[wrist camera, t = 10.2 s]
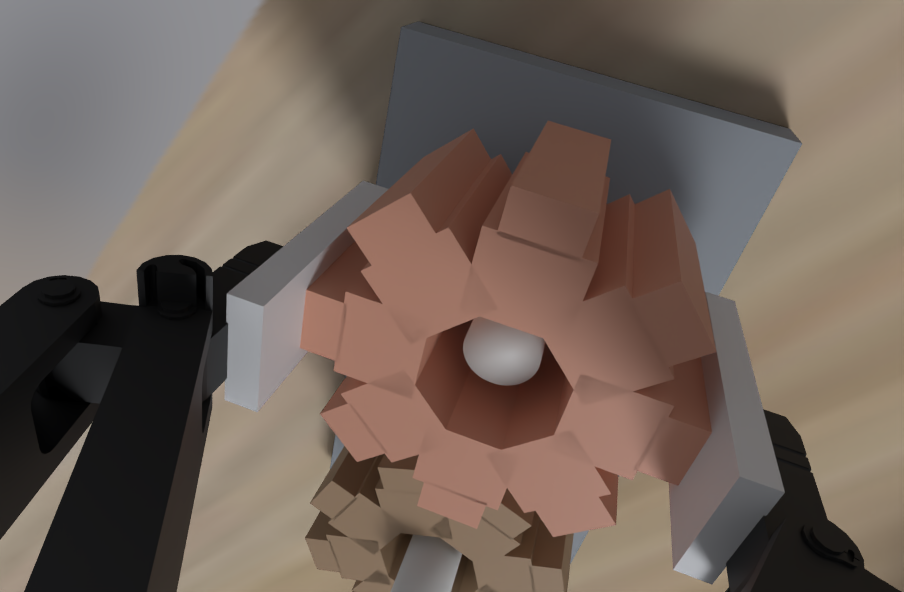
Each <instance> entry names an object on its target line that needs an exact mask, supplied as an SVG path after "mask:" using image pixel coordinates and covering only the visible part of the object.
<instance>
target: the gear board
mask: <svg viewBox="0 0 904 592" xmlns="http://www.w3.org/2000/svg"><path fill="white" fill-rule="evenodd" d="M547 121H551V122H555V123H558V124H561V125H564V126H568V127H571V128H574V129H578V130H581V131H584V132H588V133H591V134H594V135H598V136H601V137H604V138H608V139H611V145H610V151H609V157H608V163H607V169H606V175H605V176H606V177H609V178H610V182H609V189H608V196H607V204H609V203H611V202H613V201H615V200H618V199H620V198H622V197H624V196H627V195H629V194H630V196H631V198H632V200H633V202H634V204H637V203H639V202H641V201H643V200H646V199H648V198H650V197H652V196H655V195H657V194H659V193H662V192H664V191H666V190H668V189H670V190H671V192H672V194H673V196H674V198H675V201H676V203H677V205H678V207H679V209H680V211H681V213H682V215H683V217H684V220H685V222H686V224H687V226H688V228H689V230H690V232H691V234H692V237H693V239H694V241H695V243H696V248H697V253H698V258H699V263H700V269H701V274H702V279H703V284H704V290H705V292H708V293H711V294H714V295H717V296H718V295H719V294H720V292H721V290H722V288H723V286H724V284H725V283H726V281H727V279H728V277H729V275H730V274H731V272H732V270H733V268H734V266H735V265H736V263H737V261H738V259H739V257H740V255H741V254H742V252H743V250H744V248H745V246H746V245H747V243H748V241H749V239H750V237H751V235H752V234H753V232H754V230H755V228H756V226H757V225H758V223H759V221H760V219H761V217H762V216H763V214H764V212H765V210H766V208H767V206H768V205H769V203H770V201H771V199H772V197H773V196H774V194H775V192H776V190H777V188H778V187H779V185H780V183H781V181H782V179H783V177H784V176H785V174H786V172H787V170H788V168H789V167H790V165H791V163H792V161H793V159H794V157H795V156H796V154H797V152H798V150H799V148H800V147H801V145H802V143H801V141H800V140H799V139H798V138H797V137H796V135H795V134H794V133H793V132H792V131H791V129H789V128H785V127H782V126H778V125H775V124H771V123H768V122H764V121H761V120H757V119H754V118H751V117H747V116H744V115H740V114H737V113H733V112H730V111H726V110H723V109H719V108H716V107H712V106H709V105H706V104H702V103H699V102H695V101H692V100H688V99H685V98H681V97H678V96H674V95H671V94H667V93H664V92H661V91H657V90H654V89H650V88H647V87H643V86H640V85H636V84H633V83H629V82H626V81H622V80H619V79H616V78H612V77H609V76H605V75H602V74H598V73H595V72H591V71H588V70H584V69H581V68H577V67H574V66H571V65H567V64H564V63H560V62H557V61H553V60H550V59H546V58H543V57H539V56H536V55H532V54H529V53H526V52H522V51H519V50H515V49H512V48H508V47H505V46H501V45H498V44H494V43H491V42H487V41H484V40H481V39H477V38H474V37H470V36H467V35H463V34H460V33H456V32H453V31H449V30H446V29H442V28H439V27H436V26H432V25H429V24H425V23H422V22H415V23H412V24H409V25H406V26H402V27H401V32H400V38H399V44H398V50H397V57H396V63H395V69H394V75H393V81H392V88H391V94H390V100H389V106H388V112H387V119H386V125H385V131H384V137H383V143H382V150H381V156H380V162H379V168H378V174H377V181H376V185H378V186H381V187H384V188H387V189H389V188H390V187H391V186H393V185H394V184H395V183H396V182H397V181H398V180H399V179H400V178H401V177H402V176H403V175H405V174H406V173H407V172H408V171H409V170H410V169H411V168H412V167H413V166H414V165H415V164H416V163H418V162H419V161H420V160H421V159H422V158H423V157H424V156H426V155H428V154H430V153H431V152H433V151H435V150H437V149H438V148H440V147H442V146H444V145H445V144H447V143H449V142H451V141H452V140H454V139H456V138H458V137H459V136H461V135H463V134H465V133H466V132H468V131H470V130H472V129H473V128H474V130H475V132H476V134H477V135H478V137H479V139H480V141H481V142H482V144H483V146H484V148H485V150H486V151H487V153H488V155H489V157H490V158H491V159H493V158H494V157H496V156H498V155H500V154H501V155H502V157H503V159H504V160H505V162H506V164H507V166H508V168H509V169H510V171H511V173H512V174H513V173H514V171H515V169H516V168H517V166H518V164H519V162H520V161H521V159H522V157H523V156H524V154H525V152H528V153H530V151H531V149H532V148H533V146H534V144H535V142H536V141H537V139H538V137H539V135H540V134H541V132H542V130H543V128H544V126H545V125H546V123H547ZM607 204H606V205H607ZM545 343H546V342H545V340H544V339H543V338H541V337H538V336H535V335H532V334H529V333H526V332H523V331H521V330H518V329H515V328H512V327H509V326H506V325H503V324H500V323H497V322H494V321H492V320H489V319H486V318H483V317H480V316H479V317H477V318H475V319H473V321H472V323H471V326H470V328H469V330H468V332H467V334H466V337H465V339H464V343H463V353H464V357H465V359H466V362H467V363H468V365H469V366H470V368H471V369H472V370H473V371H474V372H475V373H476V374H477V375H478V376H480V377H481V378H483V379H484V380H486V381H489V382H491V383H494V384H498V385H506V386H508V385H517V384H521V383H523V382H525V381H527V380H529V379H530V378H532V377H533V376H534V375H535V373H536V372H537V371H538V369H539V367H540V363H541V359H542V355H543V351H544V347H545ZM345 378H346V375H345ZM418 456H419V455H415V456H412V457H409V458H405V459H402V460H398V461H395V462H392V463H391V461H390V460H389V459H388V457H387V456H386V455H385V454H382V455H378V456H375V457H372V458H369V459H365V460H362V461H359V462H357V461H356V460H355V459H354V457H353V456H352V455H351V454H350V452H349V451H348V450H347V448H346V447H345V446H344V444H343V443H342V442H341V441H340V439H339V438H338V437H337V435H335V441H334V447H333V454H332V460H331V466H330V471H329V472H328V474H327V476H326V477H325V479H324V481H323V482H322V484H321V486H320V487H319V489H318V491H317V492H316V494H315V496H314V497H313V499H312V501H311V502H310V504H312V505H313V506H314V507H316V508H317V509H319V510H320V513H319V515H318V516H317V518H316V520H315V521H314V523H313V525H312V527H311V528H310V530H309V532H308V534H307V535H306V537H305V539H306V542H307V544H308V547H309V549H310V552H311V555H312V557H313V560H314V562H315V565H316V567H317V569H319V570H327V571H334V572H340V575H341V577H342V578H345V579H352V580H356V582H355V584H354V587H353V589H352V590H353V591H352V592H567V587H568V578H569V570H570V564H571V562H572V560H573V558H574V557H575V555H576V553H577V551H578V549H579V547H580V546H581V544H582V542H583V540H584V538H585V537H586V535H587V533H588V531H589V530H587V531H582V532H577V533H572V534H567V535H561V536H556V537H553V536H552V535H551V533H550V532H549V530H548V529H547V527H546V526H545V524H544V523H543V521H542V520H541V518H540V517H539V515H538V514H537V512H536V511H531V512H527V513H524V512H523V510H522V509H521V507H520V506H519V505H518V503H517V502H516V500H515V499H514V497H513V496H512V494H511V493H510V491H509V490H508V488H507V489H506V491H505V494H504V496H503V499H502V501H501V504H500V506H499V509H498V510H495V509H492V508H490V507H487V506H486V507H485V510H484V512H483V515H482V517H481V520H480V523H479V525H478V528H477V529H475V528H473V527H470V526H468V525H465V524H463V523H460V522H457V521H455V520H452V519H450V518H447V517H444V516H442V515H439V514H437V513H434V512H432V511H429V510H426V509H424V508H421V507H419V506H417V504H418V501H419V497H420V494H421V491H422V487H423V484H424V482H422V481H419V480H416V479H414V478H413V474H414V471H415V467H416V463H417V460H418ZM618 477H619V475H618Z"/></svg>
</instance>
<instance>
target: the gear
mask: <svg viewBox="0 0 904 592" xmlns="http://www.w3.org/2000/svg"><path fill="white" fill-rule="evenodd" d="M610 145H611V139H608V138H604V137H601V136H598V135H594V134H591V133H588V132H584V131H581V130H578V129H574V128H571V127H568V126H564V125H561V124H558V123H555V122H551V121H547V123H546V125H545V126H544V128H543V130H542V132H541V134H540V135H539V137H538V139H537V141H536V142H535V144H534V146H533V148H532V149H531V151H530V153H528V152H525V154H524V156H523V157H522V159H521V161H520V162H519V164H518V166H517V168H516V169H515V171H514V173H513V174H512V173H511V171H510V169H509V168H508V166H507V164H506V162H505V160H504V159H503V157H502V155H501V154H500V155H498V156H496V157H494V158H493V159H491V158H490V157H489V155H488V153H487V151H486V150H485V148H484V146H483V144H482V142H481V141H480V139H479V137H478V135H477V134H476V132H475V130H474V128H473V129H472V130H470V131H468V132H466V133H465V134H463V135H461V136H459V137H458V138H456V139H454V140H452V141H451V142H449V143H447V144H445V145H444V146H442V147H440V148H438V149H437V150H435V151H433V152H431V153H430V154H428V155H426V156H424V157H423V158H422V159H421V160H420V161H419V162H418V163H416V164H415V165H414V166H413V167H412V168H411V169H410V170H409V171H408V172H407V173H406V174H405V175H403V176H402V177H401V178H400V179H399V180H398V181H397V182H396V183H395V184H394V185H393V186H391V187H390V188H389V189H388V190H387V191H386V192H385V193H384V194H383V195H382V196H381V197H380V198H378V199H377V200H376V201H375V202H374V203H373V204H372V205H371V206H370V207H369V208H368V209H366V210H365V211H364V212H363V213H362V214H361V215H360V216H359V217H358V218H357V219H356V220H354V221H353V222H352V223H351V224H350V225H349V226H348V227H347V229H348V231H349V232H350V234H351V235H352V237H353V238H354V240H355V242H354V243H353V244H352V245H351V246H350V247H349V248H348V249H347V250H346V251H345V252H344V253H343V254H342V255H341V256H340V257H339V258H338V259H337V260H336V261H335V262H334V263H333V264H332V265H331V266H330V267H329V268H328V269H327V270H326V271H325V272H324V273H323V274H322V275H321V276H320V277H319V278H318V279H317V280H316V281H315V282H314V283H313V284H312V285H311V286H310V287H309V288H308V289H307V290H306V296H305V305H304V314H303V323H302V333H301V342H300V348H301V349H304V350H307V351H309V352H312V353H315V354H318V355H320V356H323V357H326V358H329V359H331V360H334V361H335V365H334V371H335V372H338V373H341V374H343V375H346V378H345V379H344V380H343V382H342V383H341V385H340V386H339V387H338V389H337V390H336V392H335V393H334V395H333V396H332V397H331V399H330V400H329V402H328V403H327V405H326V406H325V407H324V409H323V410H322V412H321V413H320V414H321V416H322V417H323V418H324V420H325V421H326V422H327V424H328V425H329V426H330V427H331V429H332V430H333V431H334V433H335V434H336V435H337V437H338V438H339V439H340V441H341V442H342V443H343V444H344V446H345V447H346V448H347V450H348V451H349V452H350V454H351V455H352V456H353V457H354V459H355V460H356V461H357V462H359V461H362V460H365V459H369V458H372V457H375V456H378V455H382V454H385V455H386V456H387V457H388V459H389V460H390V461H391V463H392V462H395V461H398V460H402V459H405V458H409V457H412V456H415V455H419V456H418V460H417V463H416V467H415V471H414V474H413V478H414V479H416V480H419V481H422V482H424V484H423V487H422V491H421V494H420V497H419V501H418V504H417V506H419V507H421V508H424V509H426V510H429V511H432V512H434V513H437V514H439V515H442V516H444V517H447V518H450V519H452V520H455V521H457V522H460V523H463V524H465V525H468V526H470V527H473V528H475V529H477V528H478V525H479V523H480V520H481V517H482V515H483V512H484V510H485V507H486V506H487V507H490V508H492V509H495V510H498V509H499V506H500V504H501V501H502V499H503V496H504V494H505V491H506V489H507V488H508V490H509V491H510V493H511V494H512V496H513V497H514V499H515V500H516V502H517V503H518V505H519V506H520V507H521V509H522V510H523V512H524V513H527V512H531V511H536V512H537V514H538V515H539V517H540V518H541V520H542V521H543V523H544V524H545V526H546V527H547V529H548V530H549V532H550V533H551V535H552V536H553V537H556V536H561V535H567V534H572V533H577V532H582V531H587V530H593V529H598V528H603V527H608V526H613V525H616V515H617V492H618V475H619V476H622V477H625V478H628V479H630V480H633V478H634V476H635V475H636V473H637V471H639V472H642V473H645V474H647V475H650V476H653V477H656V478H658V479H661V480H664V481H667V482H669V483H672V484H675V485H679V484H680V482H681V481H682V479H683V478H684V476H685V474H686V473H687V471H688V470H689V468H690V466H691V465H692V463H693V462H694V460H695V459H696V457H697V455H698V454H699V452H700V451H701V449H702V448H703V446H704V444H705V443H706V441H707V440H708V438H709V436H710V435H711V433H712V429H711V422H710V416H709V409H708V402H707V396H706V389H705V382H704V376H703V369H702V363H701V357H702V356H705V355H709V354H712V353H715V352H716V347H715V342H714V337H713V332H712V326H711V321H710V316H709V311H708V305H707V300H706V295H705V290H704V284H703V279H702V274H701V269H700V263H699V258H698V253H697V248H696V243H695V241H694V239H693V237H692V234H691V232H690V230H689V228H688V226H687V224H686V222H685V220H684V217H683V215H682V213H681V211H680V209H679V207H678V205H677V203H676V201H675V198H674V196H673V194H672V192H671V190H670V189H668V190H666V191H664V192H662V193H659V194H657V195H655V196H652V197H650V198H648V199H646V200H643V201H641V202H639V203H637V204H634V202H633V200H632V198H631V196H630V194H629V195H627V196H624V197H622V198H620V199H618V200H615V201H613V202H611V203H609V204H607V196H608V189H609V182H610V178H609V177H606V176H605V175H606V169H607V163H608V157H609V151H610ZM606 204H607V205H606ZM479 316H480V317H483V318H486V319H489V320H492V321H494V322H497V323H500V324H503V325H506V326H509V327H512V328H515V329H518V330H521V331H523V332H526V333H529V334H532V335H535V336H538V337H541V338H543V339H544V340H545V342H546V343H545V347H544V351H543V355H542V359H541V363H540V367H539V369H538V371H537V372H536V373H535V375H534V376H533V377H532V378H530V379H529V380H527V381H525V382H523V383H521V384H517V385H508V386H506V385H498V384H494V383H491V382H489V381H486V380H484V379H483V378H481V377H480V376H478V375H477V374H476V373H475V372H474V371H473V370H472V369H471V368H470V366H469V365H468V363H467V362H466V359H465V357H464V353H463V343H464V339H465V337H466V334H467V332H468V330H469V328H470V326H471V323H472V321H473V319H475V318H477V317H479Z"/></svg>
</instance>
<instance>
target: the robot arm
mask: <svg viewBox="0 0 904 592" xmlns="http://www.w3.org/2000/svg"><path fill="white" fill-rule="evenodd" d="M387 190H388V189H387V188H384V187H381V186H378V185H375V184H372V183H369V182H366V181H362V182H361V183H360V184H358V185H357V186H356V187H355V188H354V189H352V190H351V191H350V192H349V193H348V194H346V195H345V196H344V197H343V198H342V199H340V200H339V201H338V202H337V203H335V204H334V205H333V206H332V207H331V208H329V209H328V210H327V211H326V212H325V213H323V214H322V215H321V216H320V217H319V218H317V219H316V220H315V221H314V222H313V223H311V224H310V225H309V226H308V227H306V228H305V229H304V230H303V231H302V232H300V233H299V234H298V235H297V236H296V237H294V238H293V239H292V240H291V241H290V242H288V243H287V244H286V245H285V246H281V245H278V244H275V243H272V242H269V241H263V242H260V243H257V244H254V245H250V246H247V247H246V248H244V249H243V250H242V251H240V252H239V253H238V254H236V255H235V256H234V258H233V259H230V260H228V261H227V262H226V263H224V264H223V266H222V267H219V268H218V269H216V270H215V271H214V272H212V269H211V268H210V267H209V266H208V265H207V263H206V262H203V261H201V260H199V259H197V258H194V257H189V256H184V255H165V256H161V257H156V258H152V259H150V260H148V261H146V262H144V263H142V264H141V266H140V267H139V268H138V269H137V284H138V297H139V306H134V305H125V304H117V303H109V302H101V301H100V295H99V290H98V286H96V285H95V284H94V283H93V282H92V281H90V280H87V279H84V278H82V277H77V276H66V275H62V276H51V277H46V278H43V279H40V280H36V281H33V282H32V283H30V284H28V285H27V286H25V287H23V288H22V289H21V290H19V291H18V292H17V293H15V294H14V295H13V296H12V297H11V298H9V299H8V300H7V301H6V302H4V303H3V304H2V305H1V306H0V539H1V538H2V537H3V536H4V534H5V533H6V532H7V530H8V529H9V528H10V527H11V525H12V524H13V523H14V521H15V520H16V519H17V518H18V516H19V515H20V514H21V513H22V511H23V510H24V509H25V507H26V506H27V505H28V504H29V502H30V501H31V500H32V498H33V497H34V496H35V495H36V493H37V492H38V491H39V489H40V488H41V487H42V486H43V484H44V483H45V482H46V480H47V479H48V478H49V477H50V475H51V474H52V473H53V472H54V470H55V469H56V468H57V466H58V465H59V464H60V463H61V461H62V460H63V459H64V457H65V456H66V455H67V454H68V452H69V451H70V450H71V448H72V447H73V446H74V445H75V443H76V442H77V441H78V439H79V438H80V437H81V436H82V434H83V433H84V432H85V431H86V429H87V428H88V427H89V425H90V424H91V423H92V425H91V427H90V430H89V432H88V435H87V437H86V440H85V442H84V445H83V447H82V449H81V452H80V454H79V457H78V459H77V462H76V464H75V467H74V469H73V472H72V474H71V477H70V479H69V482H68V484H67V487H66V489H65V492H64V494H63V497H62V499H61V502H60V504H59V507H58V509H57V511H56V514H55V516H54V519H53V521H52V524H51V526H50V529H49V531H48V534H47V536H46V539H45V541H44V544H43V546H42V549H41V551H40V554H39V556H38V559H37V561H36V564H35V566H34V569H33V571H32V574H31V576H30V578H29V581H28V583H27V586H26V588H25V591H24V592H176V591H177V586H178V581H179V576H180V571H181V566H182V560H183V555H184V550H185V545H186V540H187V535H188V529H189V524H190V519H191V514H192V509H193V504H194V498H195V493H196V488H197V483H198V478H199V473H200V467H201V462H202V457H203V452H204V447H205V442H206V437H207V431H208V426H209V421H210V416H211V411H212V393H213V392H214V391H215V390H216V389H217V388H218V387H219V386H220V385H221V384H222V383H223V382H224V381H225V400H226V401H229V402H232V403H234V404H237V405H240V406H242V407H245V408H248V409H250V410H253V411H256V412H258V411H259V410H260V408H261V407H262V406H263V405H264V404H265V402H266V401H267V400H268V399H269V398H270V396H271V395H272V394H273V393H274V392H275V390H276V389H277V388H278V387H279V386H280V384H281V383H282V382H283V381H284V380H285V378H286V377H287V376H288V375H289V374H290V372H291V371H292V370H293V369H294V368H295V366H296V365H297V364H298V363H299V362H300V360H301V359H302V358H303V357H304V355H305V354H306V353H307V352H308V351H307V350H304V349H301V348H300V342H301V333H302V323H303V314H304V305H305V296H306V290H307V289H308V288H309V287H310V286H311V285H312V284H313V283H314V282H315V281H316V280H317V279H318V278H319V277H320V276H321V275H322V274H323V273H324V272H325V271H326V270H327V269H328V268H329V267H330V266H331V265H332V264H333V263H334V262H335V261H336V260H337V259H338V258H339V257H340V256H341V255H342V254H343V253H344V252H345V251H346V250H347V249H348V248H349V247H350V246H351V245H352V244H353V243H354V242H355V240H354V238H353V237H352V235H351V234H350V232H349V231H348V229H347V227H348V226H349V225H350V224H351V223H352V222H353V221H354V220H356V219H357V218H358V217H359V216H360V215H361V214H362V213H363V212H364V211H365V210H366V209H368V208H369V207H370V206H371V205H372V204H373V203H374V202H375V201H376V200H377V199H378V198H380V197H381V196H382V195H383V194H384V193H385V192H386V191H387ZM705 295H706V300H707V305H708V311H709V316H710V321H711V326H712V332H713V337H714V342H715V347H716V352H715V353H712V354H709V355H705V356H702V357H701V363H702V369H703V376H704V382H705V389H706V396H707V402H708V409H709V416H710V422H711V429H712V433H711V435H710V436H709V438H708V440H707V441H706V443H705V444H704V446H703V448H702V449H701V451H700V452H699V454H698V455H697V457H696V459H695V460H694V462H693V463H692V465H691V466H690V468H689V470H688V471H687V473H686V474H685V476H684V478H683V479H682V481H681V482H680V484H679V485H675V484H672V483H669V495H670V516H671V536H672V557H673V570H675V571H678V572H681V573H683V574H686V575H689V576H691V577H694V578H697V579H699V580H702V581H704V582H707V583H710V584H713V583H714V581H715V580H716V579H717V578H718V576H719V575H720V574H721V573H722V571H723V570H724V569H725V567H726V566H727V574H728V581H729V588H728V589H727V590H726V591H725V592H901V591H899V590H898V589H896V588H894V587H893V586H891V585H890V584H888V583H886V582H885V581H883V580H881V579H880V578H878V577H876V576H875V575H873V574H872V573H870V572H869V571H867V570H866V569H865V568H864V559H863V557H862V555H861V553H860V551H859V549H858V547H857V546H856V545H855V543H854V542H853V541H852V540H851V539H850V537H849V536H848V535H847V534H846V533H845V532H844V531H842V530H841V529H840V528H839V527H837V526H836V525H835V524H834V523H832V522H831V521H829V520H828V519H827V516H826V513H825V510H824V507H823V504H822V501H821V497H820V494H819V491H818V488H817V485H816V482H815V479H814V476H813V473H811V472H810V471H811V467H810V464H809V461H808V458H806V451H805V448H804V445H803V442H802V439H801V436H800V435H799V433H798V432H797V431H796V430H795V428H794V427H793V426H792V424H791V423H790V422H789V420H788V419H787V418H786V417H784V416H781V415H778V414H775V413H773V412H770V411H767V410H764V409H763V407H762V403H761V399H760V396H759V392H758V388H757V384H756V380H755V376H754V373H753V369H752V365H751V361H750V357H749V354H748V350H747V346H746V342H745V338H744V334H743V331H742V327H741V323H740V319H739V315H738V312H737V308H736V304H735V301H733V300H730V299H727V298H724V297H720V296H717V295H714V294H711V293H708V292H705Z"/></svg>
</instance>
